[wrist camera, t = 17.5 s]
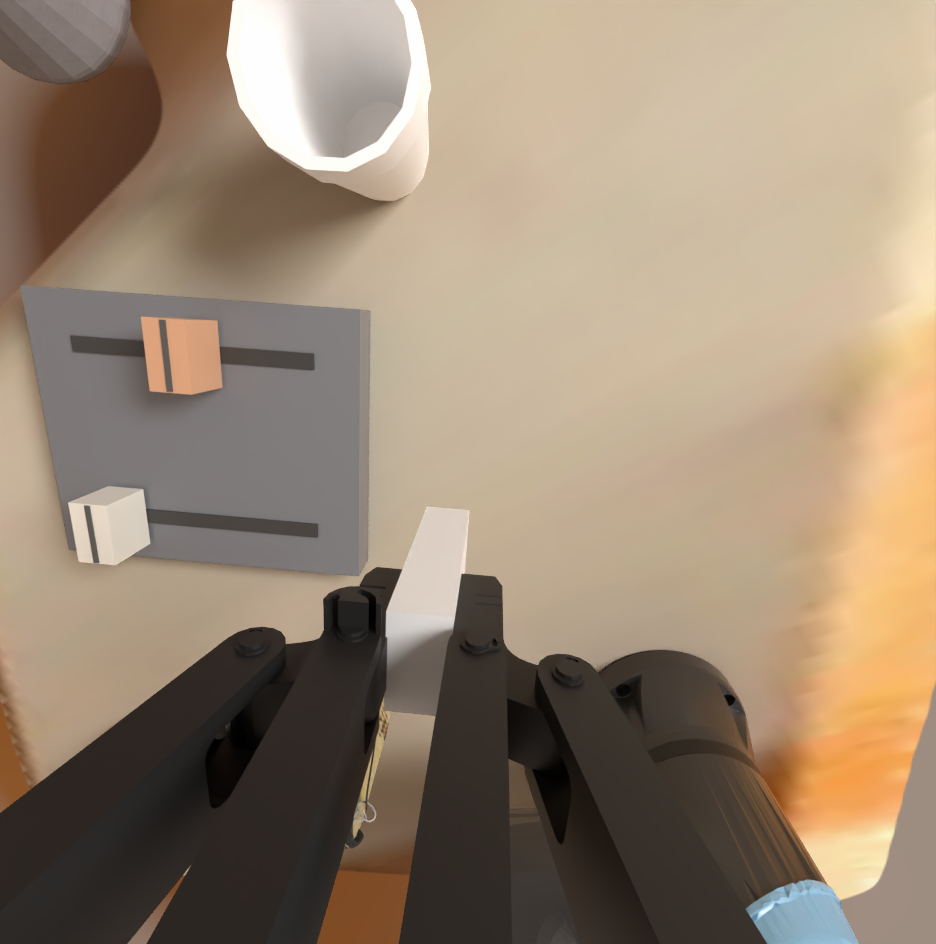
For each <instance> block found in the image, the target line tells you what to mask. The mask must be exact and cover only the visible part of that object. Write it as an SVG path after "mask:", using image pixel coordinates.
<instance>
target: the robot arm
mask: <svg viewBox="0 0 936 944" xmlns="http://www.w3.org/2000/svg"><path fill="white" fill-rule="evenodd" d="M468 523H469V510H463V509H451V508H439V507H428V506H427V508H426V510H425V513H424V516H423V518H422V521H421V523H420V526H419V528H418V531H417V533H416V536H415V539H414V541H413V544H412V546H411V549H410V551H409V554H408V556H407V559H406V562H405V564H404V567H403V569H392V568H381V567H376V568H375V569H373V570H372V571H370V572H369V573H367V574H366V575H365V576H364V578H363V580H362V582H361V584H360V586H355V587H345V588H340V589H337V590H335V591H333V592H331V593H329V594H328V595H327V596H326V597H325V598H324V599H323V605H324V631H323V633H322V635H321V637H320V638H319V639H316V640H313V641H308V642H302V643H293V644H286V641H285V637H284V635H283V634H282V632H280V631H278V630H276V629H274V628H267V627H257V628H256V627H255V628H249V629H246V630H243V631H240V632H237V633H236V634H234V635H232V636H230V637H229V638H227V639H226V640H225V641H223V642H222V643H221V644H219V645H218V646H217V647H216V648H214V649H213V650H212V651H210V652H209V653H208V654H206V655H205V656H204V657H203V658H201V659H200V660H199V661H197V662H196V663H195V664H193V665H192V666H191V667H190V668H188V669H187V670H186V671H184V672H183V673H182V674H180V675H179V676H178V677H177V678H175V679H174V680H173V681H171V682H170V683H169V684H167V685H166V686H165V687H164V688H162V689H161V690H160V691H158V692H157V693H156V694H154V695H153V696H152V697H151V698H149V699H148V700H147V701H145V702H144V703H143V704H141V705H140V706H139V707H138V708H136V709H135V710H134V711H132V712H131V713H130V714H128V715H127V716H126V717H125V718H123V719H122V720H121V721H119V722H118V723H117V724H115V725H114V726H113V727H112V728H110V729H109V730H108V731H106V732H105V733H104V734H102V735H101V736H100V737H98V738H97V739H96V740H95V741H93V742H92V743H91V744H89V745H88V746H87V747H85V748H84V749H83V750H82V751H80V752H79V753H78V754H76V755H75V756H74V757H72V758H71V759H70V760H69V761H67V762H66V763H65V764H63V765H62V766H61V767H59V768H58V769H57V770H56V771H54V772H53V773H52V774H50V775H49V776H48V777H46V778H45V779H44V780H43V781H41V782H40V783H39V784H37V785H36V786H35V787H33V788H32V789H31V790H30V791H28V792H27V793H26V794H25V795H23V796H22V797H21V798H19V799H18V800H17V801H15V802H14V803H13V804H11V805H10V806H9V807H7V808H6V809H5V810H4V811H2V812H1V813H0V944H127V943H128V942H129V941H130V940H131V938H132V937H133V936H134V935H135V934H136V932H137V931H138V930H139V929H140V927H141V926H142V925H143V924H144V922H145V921H146V920H147V919H148V918H149V916H150V915H151V914H152V913H153V911H154V910H155V909H156V908H157V906H158V905H159V904H160V903H161V901H162V900H163V899H164V898H165V897H166V895H167V894H168V893H169V892H170V890H171V889H172V888H173V887H174V885H175V884H176V883H177V882H178V880H179V879H180V878H181V877H182V876H183V874H184V873H185V872H186V871H187V869H188V868H189V867H190V868H189V870H188V872H187V873H186V875H185V877H184V879H183V880H182V882H181V884H180V886H179V888H178V889H177V891H176V893H175V895H174V896H173V898H172V900H171V902H170V903H169V905H168V907H167V909H166V910H165V912H164V914H163V916H162V917H161V919H160V921H159V923H158V925H157V927H156V928H155V930H154V932H153V933H152V935H151V937H150V939H149V940H148V942H147V944H317V940H318V937H319V933H320V930H321V927H322V923H323V920H324V916H325V913H326V909H327V906H328V902H329V899H330V896H331V892H332V889H333V885H334V881H335V878H336V875H337V872H338V868H339V865H340V861H341V858H342V854H343V851H344V847H345V844H346V841H347V837H348V834H349V830H350V827H351V823H352V820H353V817H354V813H355V810H356V806H357V803H358V799H359V796H360V792H361V789H362V786H363V782H364V779H365V775H366V772H367V768H368V765H369V762H370V758H371V755H372V751H373V748H374V744H375V741H376V737H377V734H378V731H379V719H380V707H381V704H382V701H383V698H384V711H393V712H403V713H413V714H423V715H432V716H436V718H435V724H434V730H433V736H432V743H431V749H430V755H429V761H428V767H427V773H426V780H425V786H424V792H423V798H422V804H421V811H420V817H419V823H418V829H417V835H416V841H415V848H414V854H413V860H412V866H411V872H410V878H409V885H408V892H407V898H406V903H405V909H404V916H403V922H402V928H401V934H400V940H399V944H859V943H858V941H857V939H856V937H855V935H854V933H853V931H852V929H851V927H850V926H849V924H848V922H847V920H846V918H845V916H844V914H843V911H842V908H841V903H840V901H839V899H838V897H837V896H836V894H835V893H834V891H833V889H832V888H831V887H830V886H828V885H827V883H826V882H825V880H824V878H823V877H822V875H821V873H820V872H819V870H818V868H817V867H816V865H815V863H814V862H813V860H812V858H811V857H810V855H809V853H808V852H807V850H806V848H805V847H804V845H803V843H802V842H801V840H800V838H799V837H798V835H797V833H796V832H795V830H794V828H793V827H792V825H791V823H790V822H789V820H788V818H787V817H786V815H785V813H784V812H783V810H782V808H781V807H780V805H779V803H778V802H777V800H776V798H775V797H774V795H773V793H772V792H771V790H770V789H769V787H768V785H767V784H766V782H765V780H764V779H763V777H762V775H761V773H760V772H759V770H758V768H757V766H756V765H755V760H754V755H753V749H752V744H751V739H750V734H749V729H748V724H747V719H746V714H745V711H744V708H743V706H742V704H741V701H740V699H739V698H738V696H737V694H736V693H735V691H734V690H733V688H732V687H731V685H730V684H729V682H728V681H727V679H726V678H725V677H724V675H723V674H722V673H721V672H720V671H719V670H718V669H716V668H715V667H714V666H712V665H711V664H710V663H708V662H706V661H704V660H702V659H701V658H698V657H696V656H693V655H690V654H687V653H682V652H677V651H667V650H658V651H647V652H642V653H638V654H634V655H631V656H628V657H626V658H623V659H621V660H619V661H617V662H615V663H613V664H612V665H610V666H609V667H607V668H606V669H604V670H603V671H602V672H601V673H600V674H598V672H597V671H596V670H595V669H594V668H593V667H592V666H591V664H589V663H587V662H586V661H584V660H582V659H581V658H578V657H575V656H572V655H567V654H554V655H549V656H547V657H545V658H544V659H542V660H541V661H540V663H539V665H535V664H532V663H529V662H526V661H524V660H522V659H519V658H518V657H516V656H515V655H513V654H512V653H511V652H510V651H509V650H508V649H507V647H506V646H505V643H504V640H503V607H502V606H503V603H502V585H501V584H500V583H499V581H498V580H497V579H496V577H494V576H483V575H472V574H465V563H466V550H467V537H468ZM508 759H510V760H513V761H515V762H517V763H520V764H522V765H525V774H526V777H527V780H528V783H529V786H530V790H531V793H532V796H533V799H534V802H535V805H536V808H527V809H509V770H508Z"/></svg>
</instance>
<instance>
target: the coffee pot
mask: <svg viewBox="0 0 936 944" xmlns="http://www.w3.org/2000/svg"><path fill="white" fill-rule="evenodd" d="M130 16H131V9H130V0H0V59H1V60H2V61H3V62H5V63H6V64H7V65H8V66H10V67H11V68H12V69H14V70H16V71H18V72H20V73H22V74H24V75H26V76H28V77H30V78H32V79H35V80H39V81H44V82H50V83H55V84H70V83H77V82H83V81H88V80H89V79H91V78H93V77H95V76H97V75H99V74H101V73H103V72H104V71H105V70H106V69H107V68H108V67H109V66H110V64H111V63H112V62H113V61H114V60H115V59H116V58H117V56H118V54H119V52H120V50H121V48H122V46H123V44H124V42H125V40H126V36H127V31H128V26H129V21H130Z"/></svg>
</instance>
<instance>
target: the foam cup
mask: <svg viewBox="0 0 936 944" xmlns="http://www.w3.org/2000/svg"><path fill="white" fill-rule="evenodd" d="M227 58H228V62H229V66H230V70H231V74H232V78H233V82H234V86H235V90H236V94H237V98H238V102H239V106H240V107H241V109H242V110H243V112H244V113H245V115H246V116H247V117H248V119H249V120H250V122H251V123H252V125H253V126H254V127H255V129H256V130H257V132H258V133H259V134H260V136H261V137H262V139H263V140H264V142H265V143H266V144H267V146H268V147H269V148H271V149H272V150H273V151H274V152H276V153H277V154H278V155H280V156H281V157H282V158H283V159H285V160H286V161H287V162H289V163H290V164H292V165H294V166H295V167H297V168H299V169H300V170H302V171H304V172H305V173H307V174H309V175H310V176H312V177H314V178H315V179H317V180H319V181H320V182H322V183H335V184H337V185H339V186H342V187H344V188H347V189H349V190H351V191H354V192H356V193H359V194H361V195H363V196H366V197H368V198H371V199H373V200H380V201H396V200H398V199H400V198H402V197H404V196H406V195H408V194H410V193H412V192H413V190H414V189H415V188H416V186H417V185H418V184H419V182H420V181H421V180H422V178H423V177H424V173H425V169H426V165H427V161H428V156H429V155H428V154H429V141H428V99H429V94H430V90H431V84H430V78H429V71H428V65H427V58H426V52H425V45H424V39H423V35H422V31H421V27H420V23H419V19H418V15H417V12H416V9H415V7H414V5H413V4H412V2H411V0H234V1H233V6H232V15H231V23H230V31H229V40H228V48H227Z"/></svg>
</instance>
